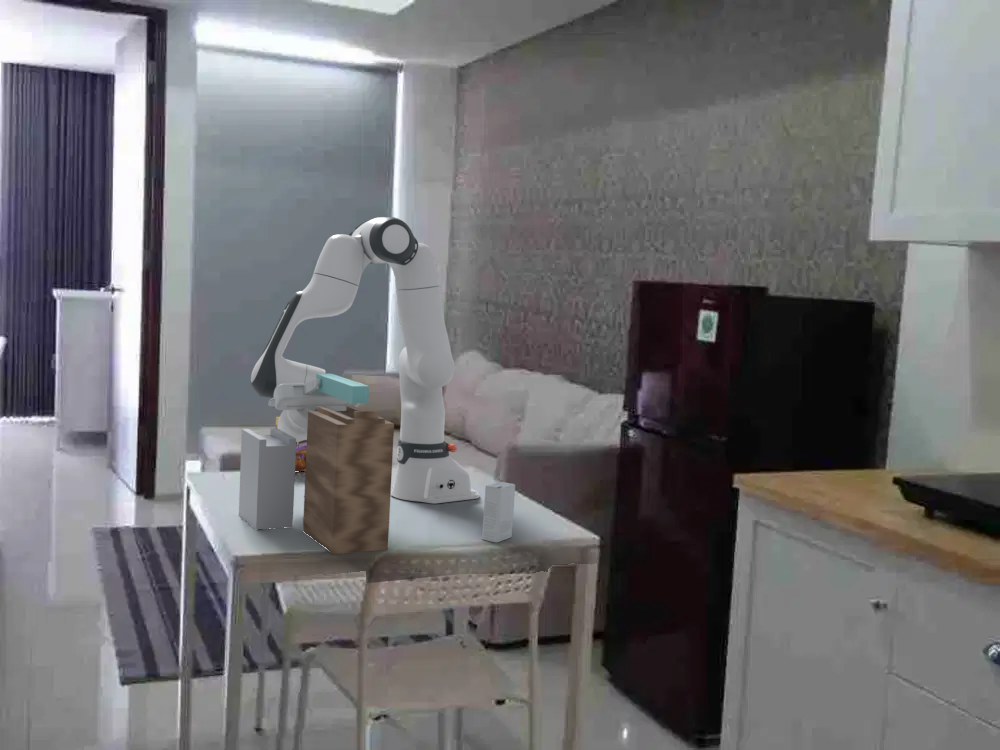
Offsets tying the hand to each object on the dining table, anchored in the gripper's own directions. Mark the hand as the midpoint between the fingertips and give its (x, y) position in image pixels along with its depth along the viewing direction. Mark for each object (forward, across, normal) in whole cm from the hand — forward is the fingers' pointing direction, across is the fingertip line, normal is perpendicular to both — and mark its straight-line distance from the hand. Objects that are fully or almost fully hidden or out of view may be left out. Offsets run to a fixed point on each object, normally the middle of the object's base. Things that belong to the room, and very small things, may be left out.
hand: (329, 381), depth 224 cm
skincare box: (+2, +31, +39) cm, 50 cm away
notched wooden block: (-4, -1, +34) cm, 35 cm away
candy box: (-66, +10, -1) cm, 67 cm away
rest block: (-22, -12, +24) cm, 34 cm away
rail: (+5, 0, +6) cm, 8 cm away
